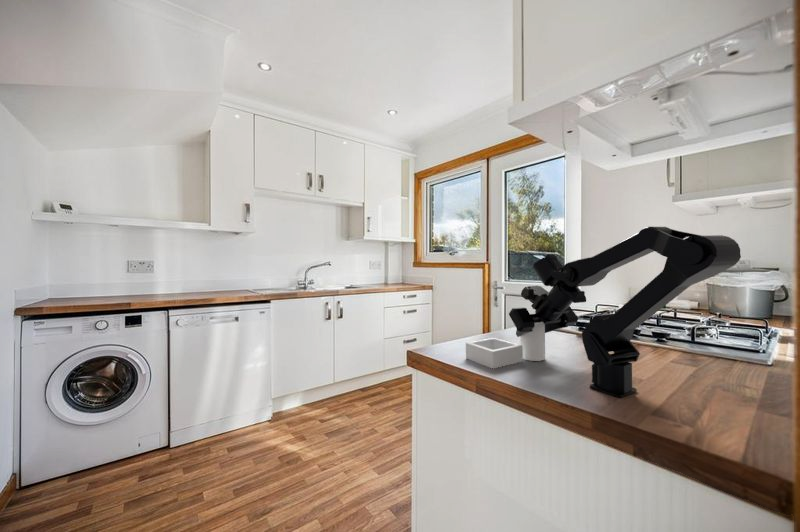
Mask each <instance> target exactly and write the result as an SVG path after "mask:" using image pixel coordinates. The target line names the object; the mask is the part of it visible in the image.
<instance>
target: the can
mask: <svg viewBox="0 0 800 532" xmlns="http://www.w3.org/2000/svg"><path fill="white" fill-rule="evenodd" d="M532 330H533V331H532V332H529V333H527V334H525V335H522V336H520V337H519V338H520V341H519V345H523V360H524V359H525V361H527V360H529V361H528V362H533V361H539V362H543V361H545V359H546V333H545V324H544V323H543V322H542V323H535V327H534V328H533V329H532ZM542 360H543V361H542Z"/></svg>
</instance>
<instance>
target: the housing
mask: <svg viewBox="0 0 800 532" xmlns="http://www.w3.org/2000/svg"><path fill="white" fill-rule="evenodd" d="M465 359H466V360H469V361H472V362H474V363H477V364H479V365H481V366H484V367H488V368H490V369H492V368H493V369H492V370H495V369H499V368H502V366H503V367H507V366H511V365H514V363H515V364H518V363H517V362H519V363H522V362H521V361H523V362H524V359H523V345H520V343H515V342H512V341H508V340H504V339H500V338H497V337H489V338H485V339H480V340H479V339H478V340H474V341H468V342H465ZM510 364H511V365H510ZM506 365H507V366H506ZM498 367H499V368H498ZM494 368H495V369H494Z"/></svg>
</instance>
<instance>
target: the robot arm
mask: <svg viewBox="0 0 800 532" xmlns="http://www.w3.org/2000/svg"><path fill="white" fill-rule="evenodd" d="M654 252H656V253H657V254H658V255H660V256H662V257H665V258H666V261H665V263H664V267H663V269H662V271H660V273H659V274H657V275H656V276H655V277H654V278H653V279H652V280H651V281H649V282H648V283H647V284H646V285H645V286H644V287H643V288H641V290H639V291H638V292H637V293H636V294H635V295H634V296H633V297H631V298H630V299H629V300H628V301H627V302H626V303H625V304H623V305H622V306H621V307H620V308H619V309H618V310H617V311H616V312H614V313H607V314H600V315H599V314H598V315H595V316H594V317H592V319H591V320H590V321H589V322H588V323H587V324H584V325H583V328H584V329H583V330H582V332H581V336H582V339H581V341H582V344H583V347H584V351H585V354H586V357H587V360H588V361H589V362H592V363H593V364H592V365H591V382H592V384H589V388H590V389H593V390H596V391H599V392H602V393H604V394H607V395H610V396H611V395H612V396H614V397H617V398H623V397H625V396H629V395H631V394H633V393H635V392H638V391H637V388H635V387H633V362H638V359H639V357H640V354H641V353H640V351H639V350H638V349H637V348H636V347H635V346H634V344H633V343H632V342H631V341H632V339H633V337H634V332H635V330H636V329H637V328H638V327H640V326H641V325H642V324H644V323H645V322H647V320H648V319H650V318H651V317H653V316H654V315H656V313H658V312H659V311H660V310H661V309H662V308H664V307H665V306H667V305H668V304H669V303H671V302H672V301H673V300H674V299H675V298H677V297H678V296H679V295H681V294H682V293H683V292H684V291H686V290H687V289H688V288H690V287H691V286H693V285H695V284H698V283H701V282H702V281H705V280H708V279H710V278H713V277H715V276H717V275H719V274H721V273H722V272H725V271H727V270H728V269H730V268H733V267H734V266H735V265H737V264H738V262H740V259H741V257H742V255H741V248H740V245H739V243H738V242H737V241H736V240H735V239H734V238H732V237H730V236H726V235H719V234H717V235H701V234H696V233H695V234H694V233H690V232H685V231H679V230H678V229H677V230H676V229H672V228H669V227H667V226H647V227H644V228H642V229H641V230H640V231H638V232H637V233H635V234H633V235H631V236H629V237H628V238H626V239H624V240H621V242H618V243H616V244H613V246H609V248H607V249H605V250H603V251H601V252H599V253H597V254H595V255H593V256H590V257H585V258H581V259H576V260H573V261H569V262H566V263H565V264H564V265H562V263H561V262H560V261H559V259H558V258H557V256H556V255H555V254H554V253H549V254H547V255H545V256H544V257H542V258H540V259H538V260H537V261H536V262H534V264H533V265H532V269H533V271H534V272H535V273H536V276H537V277H538V279H540V281H541V282H542V284H543V285H544V286H545V287H551V289H550V290H549V291H547V289H545V288H544V287H543V286H541V285H528V286H525V287H524V288H523V289H522V290H521V291H520V292H521V293H520V296H521V297H522V298H523V299H524V300H525V301H529V302H530V303H531V306H530V307H532V309H533V310H534V313H531V314H530V312H529V310H528V309H527V308H526V307H513V308H511V310H510V311H509V312H508V315H509V317H510V319H511V321H512V323H513V324H514V326H515V329H516V331H515V335H516V337H517V338H520V336H522V335H525V334H527V333H529V332H532V331H533V330H532V329H533V328H534V327H535V323H542V322H543V323H544V324H545V334H547V333H551V332H554V331H557V330H562V329H565V328H568V327H572V326H575V325H576V324H577V323H578V318H579V317H578V316H577V314H576V312H575V311H574V310H573V309H572V307H571V305H572V304H579V303H586V302H587V298H586V295H585V293H586V292H585V291H584V290H581V289H580V288H579V287H588V286H589V287H591V286H595V285H597V284H598V283H599V282H601V281H602V280H604V279H605V278H606V276H607V275H608V273H609V274H610V272H611V271H614V270H616V269H617V268H620V267H623V266H624V265H627V264H628V263H631V262H634V261H635V260H637V259H640V258H642V257H644V256H646V255H649V254H651V253H654ZM611 352H613V353H611Z"/></svg>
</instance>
